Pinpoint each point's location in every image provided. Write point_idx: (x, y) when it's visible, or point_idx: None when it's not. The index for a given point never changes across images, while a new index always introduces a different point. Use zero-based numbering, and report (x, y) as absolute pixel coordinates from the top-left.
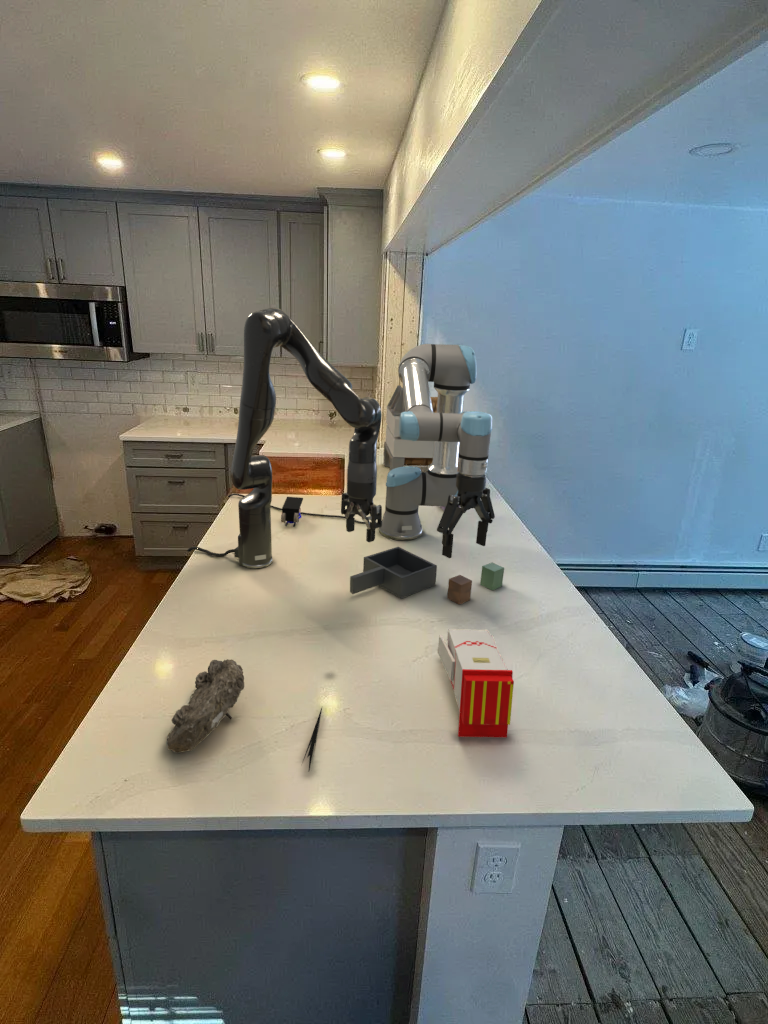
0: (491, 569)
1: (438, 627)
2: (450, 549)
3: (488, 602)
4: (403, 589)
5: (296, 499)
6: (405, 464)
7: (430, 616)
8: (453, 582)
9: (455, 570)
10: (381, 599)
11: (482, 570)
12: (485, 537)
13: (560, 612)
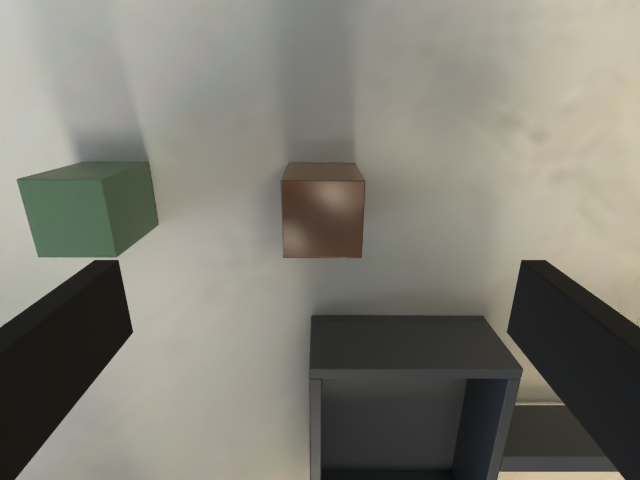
0: (98, 205)
1: (558, 89)
2: (595, 298)
3: (238, 101)
4: (486, 334)
5: None
6: None
7: (510, 168)
8: (362, 227)
9: (162, 350)
10: None
11: (126, 244)
12: (53, 299)
13: None
